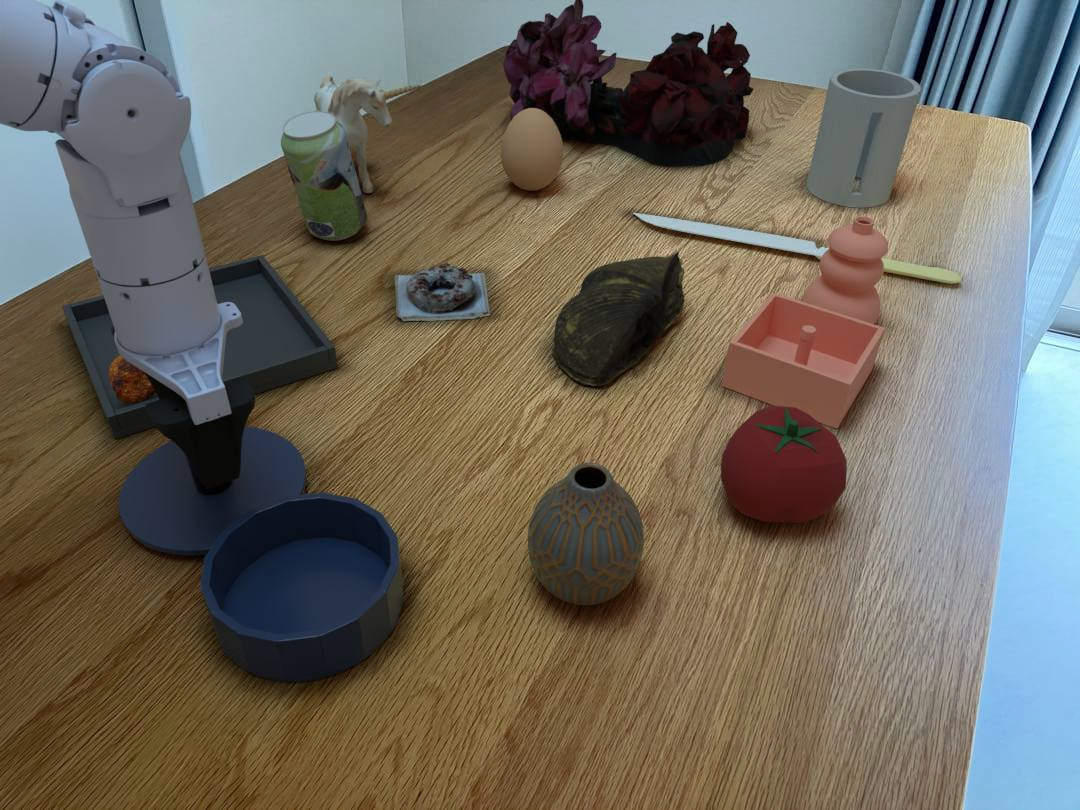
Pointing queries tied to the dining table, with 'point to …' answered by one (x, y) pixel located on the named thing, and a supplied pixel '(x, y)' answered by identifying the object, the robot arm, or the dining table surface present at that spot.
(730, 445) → the tomato
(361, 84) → the unicorn figurine
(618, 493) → the vase
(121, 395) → the meatball
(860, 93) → the cup
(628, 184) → the dining table surface
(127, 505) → the tin lid
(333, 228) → the beverage can
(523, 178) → the egg
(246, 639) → the tin
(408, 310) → the donut
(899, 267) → the knife
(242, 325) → the tray
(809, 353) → the pottery
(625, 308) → the seashell
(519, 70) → the flower arrangement
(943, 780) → the dining table surface
